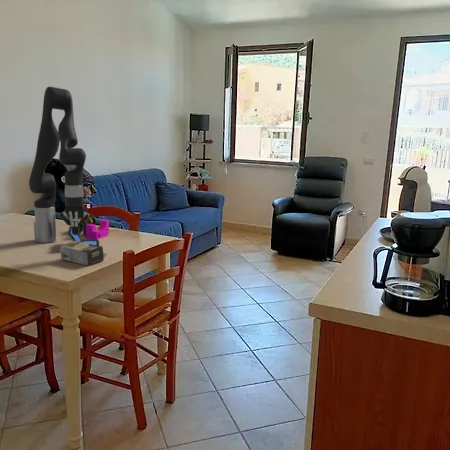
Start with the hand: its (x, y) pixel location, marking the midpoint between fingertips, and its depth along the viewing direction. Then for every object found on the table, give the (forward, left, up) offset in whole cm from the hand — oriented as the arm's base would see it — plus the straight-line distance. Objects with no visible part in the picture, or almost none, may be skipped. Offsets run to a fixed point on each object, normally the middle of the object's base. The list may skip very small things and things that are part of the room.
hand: (75, 234), depth 192 cm
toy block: (0, +39, -10) cm, 40 cm away
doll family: (-9, +44, -10) cm, 46 cm away
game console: (-2, +19, -10) cm, 21 cm away
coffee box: (-3, -2, -6) cm, 7 cm away
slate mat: (+6, 0, -10) cm, 12 cm away
